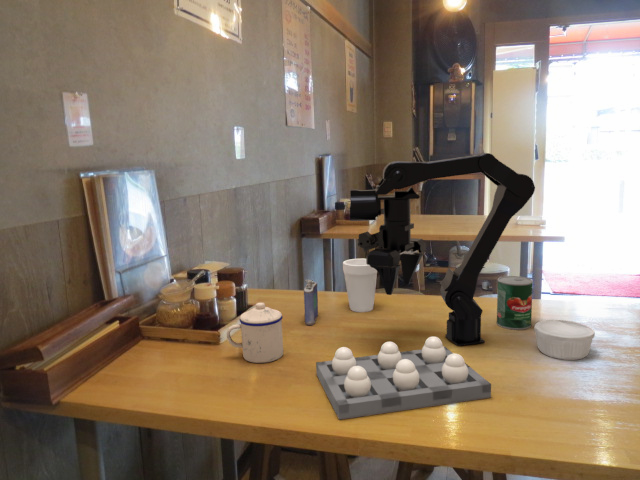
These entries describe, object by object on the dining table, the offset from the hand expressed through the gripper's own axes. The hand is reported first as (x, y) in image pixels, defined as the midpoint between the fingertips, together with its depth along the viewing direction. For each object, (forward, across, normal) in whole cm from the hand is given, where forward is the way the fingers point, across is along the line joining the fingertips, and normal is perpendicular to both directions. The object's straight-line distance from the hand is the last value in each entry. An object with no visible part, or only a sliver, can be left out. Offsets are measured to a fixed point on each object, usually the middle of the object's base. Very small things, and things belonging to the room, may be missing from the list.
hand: (398, 289), depth 116 cm
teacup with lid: (+12, +22, -23) cm, 34 cm away
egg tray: (+12, +20, +9) cm, 25 cm away
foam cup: (+12, -18, -19) cm, 29 cm away
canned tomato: (+12, -23, +20) cm, 32 cm away
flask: (+12, -4, -26) cm, 29 cm away
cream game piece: (+11, +24, +12) cm, 29 cm away
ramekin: (+12, -10, +33) cm, 36 cm away
